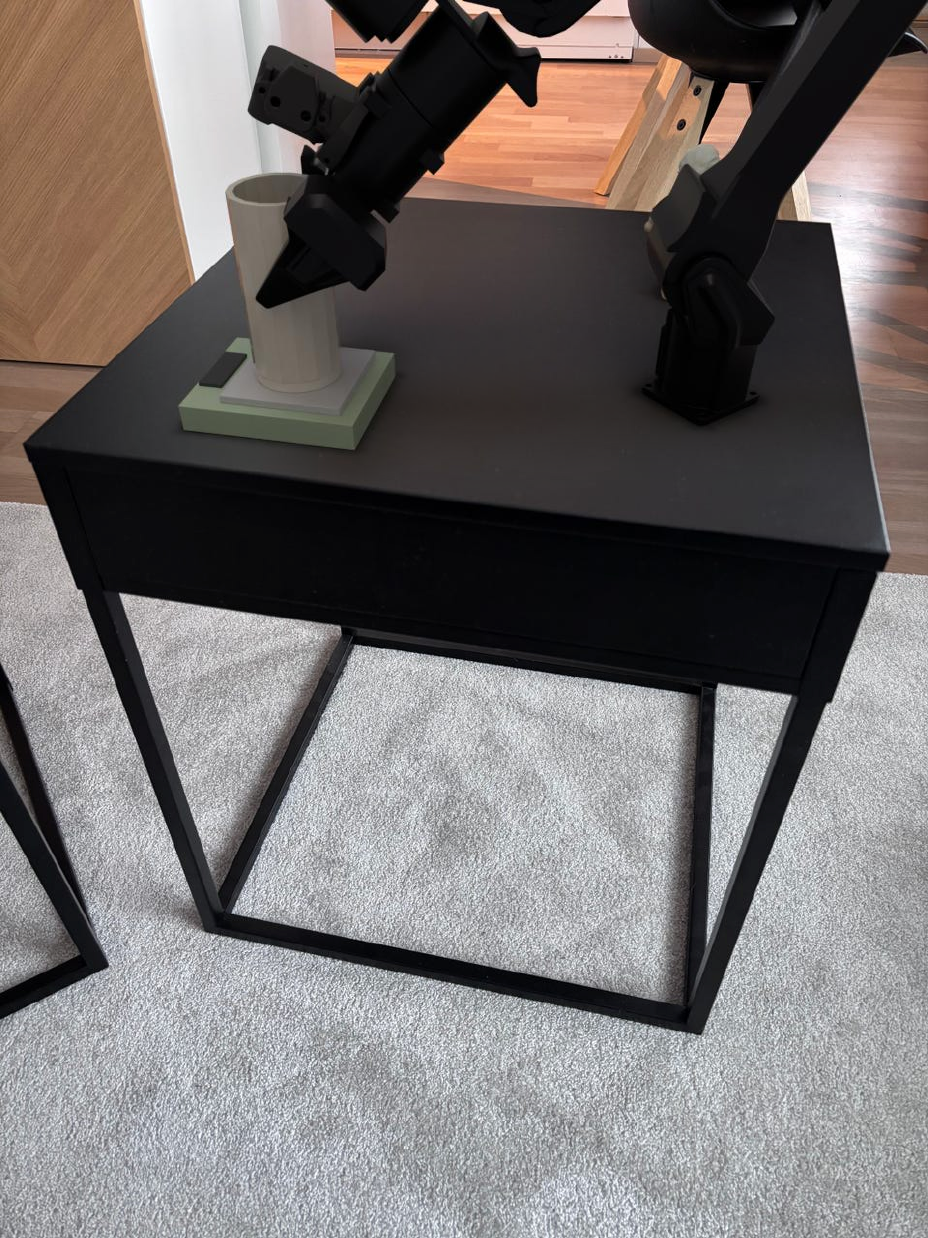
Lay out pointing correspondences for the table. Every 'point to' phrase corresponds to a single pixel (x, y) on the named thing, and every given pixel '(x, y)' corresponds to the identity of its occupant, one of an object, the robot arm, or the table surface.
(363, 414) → the scale
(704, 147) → the grandmother figurine
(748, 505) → the table surface
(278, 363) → the tumbler
